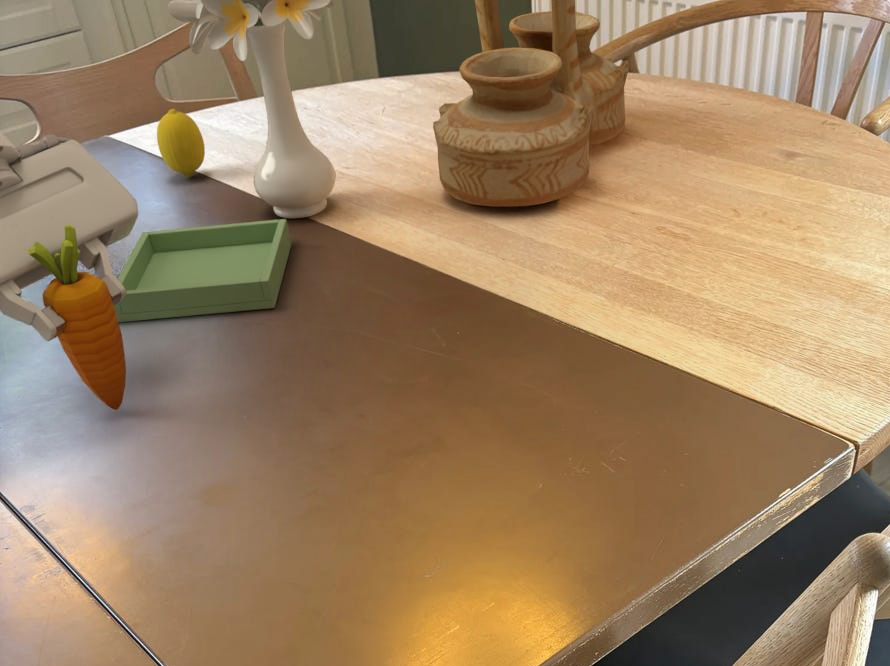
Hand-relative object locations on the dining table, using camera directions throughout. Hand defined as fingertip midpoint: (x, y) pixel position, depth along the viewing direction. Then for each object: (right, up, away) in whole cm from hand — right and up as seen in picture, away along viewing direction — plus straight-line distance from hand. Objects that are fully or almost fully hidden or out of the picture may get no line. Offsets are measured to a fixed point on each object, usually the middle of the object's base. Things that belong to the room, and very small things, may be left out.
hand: (88, 317), depth 79 cm
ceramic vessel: (+38, +32, +43) cm, 66 cm away
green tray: (+3, +12, +25) cm, 28 cm away
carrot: (0, -6, +6) cm, 9 cm away
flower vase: (+9, +24, +38) cm, 46 cm away
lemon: (-6, +33, +50) cm, 60 cm away
